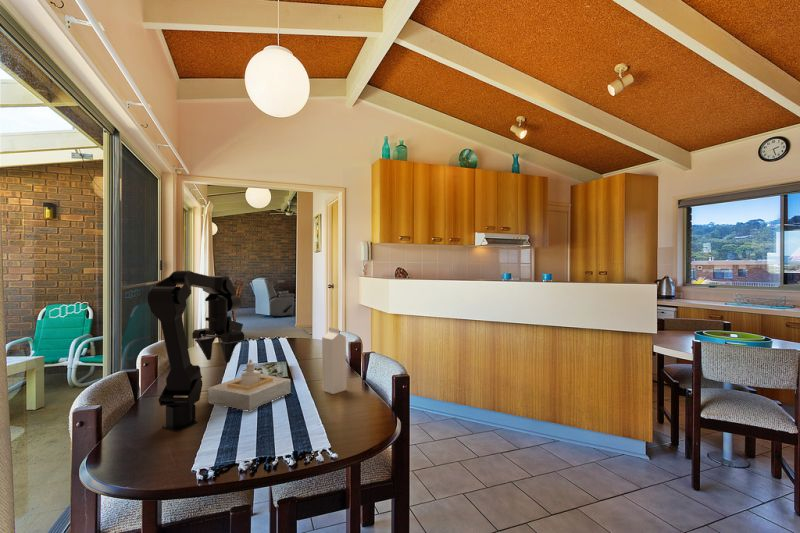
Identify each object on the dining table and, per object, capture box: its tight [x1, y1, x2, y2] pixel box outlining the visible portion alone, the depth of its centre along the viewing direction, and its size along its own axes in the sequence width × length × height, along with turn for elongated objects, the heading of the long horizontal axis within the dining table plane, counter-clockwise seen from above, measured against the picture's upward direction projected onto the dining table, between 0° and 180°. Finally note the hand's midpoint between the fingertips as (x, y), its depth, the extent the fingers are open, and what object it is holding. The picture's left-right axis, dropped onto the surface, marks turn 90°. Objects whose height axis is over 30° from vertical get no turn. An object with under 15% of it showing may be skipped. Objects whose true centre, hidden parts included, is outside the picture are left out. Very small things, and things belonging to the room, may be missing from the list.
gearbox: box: [207, 374, 292, 412], centre depth 127 cm, size 23×18×6 cm
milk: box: [321, 327, 347, 395], centre depth 133 cm, size 6×6×22 cm
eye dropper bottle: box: [241, 358, 261, 386], centre depth 125 cm, size 4×6×12 cm
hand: (218, 361), depth 124 cm, fingers open, 9 cm apart
